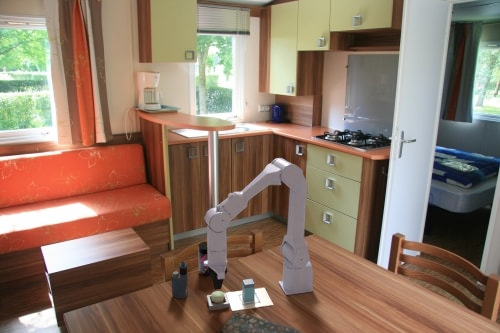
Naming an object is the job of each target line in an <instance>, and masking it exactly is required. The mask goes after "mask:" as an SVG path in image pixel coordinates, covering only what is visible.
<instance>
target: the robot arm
mask: <svg viewBox="0 0 500 333" xmlns="http://www.w3.org/2000/svg"><path fill="white" fill-rule="evenodd" d="M282 183H283V184H285V185H286V186H287V188H289V198H288V200H289V201H288V212H287V213H288V214H287V215H288V216H287V217H288V218H287V228H286V230H287V232H286V234H285V235H284V236H283V240H282V243H281V244H280V247H279V248H280V254H281V255H282V256H283V260H282V261H283V262H282V263H283V264H282V280H279V281H278V285H279V286H280V287H281V289H282V290H283V293H285V294H284V295H287V296H290V295H296V294H304V293H311V292H314V289H313V284H314V283H313V281H314V269H313V265H312V263H311V261H310V257H311V256H310V253H309V251H308V250H309V249H308V248H309V245H308V243H307V241H306V238H305V226H306V211H307V210H306V209H307V202H308V201H307V198H308V182H307V179H306V177H305V175H304V170H303V169H302V168H301V167H300V166H298V165H297V164H294V163H291V162H290V161H287V160H286V159H284V158H282V157H278V158H277V157H276V158H275V159H273V160H272V161H271V163H270V162H269V163H268V164H267V165H266V166H265V168H264V169H263V170H262V171H261V172H260V173H259V174H258V175H257V176H256V177H255V178H254V179H253V180H252V181H250V183H249V184H248V185H246V186H245V187H244V188H243V189H242V190H240V191H233V192H230V193H228V195H227V198H225V199H224V200H223V201H222V202H220V204H217V205H215V207H211V208H210V209H208V210H207V211H206V214H205V216H204V217H203V219H204V221H205V223H206V224H207V226H206V231H207V233H206V236H207V237H206V241H207V252H208V260H207V261H204V266H207V268H208V271H209V274H210V275H211V276H210V277H211V280H212V286H213V289H214V290H215V291H219V290H222V288H223V283H224V279H226V275H227V273H228V268H227V266H228V259H227V256H228V255H227V252H228V251H227V249H228V248H227V229H228V228H229V226H230V222H231V221H232V220H233V219H234V218H235V217H236V216H238V215H239V214H240V213H241V212H242V211H243V210H245V209H246V208H248V203H249V200H251V199H252V198H254V197H255V196H256V195H258V193H260V192H262V191H263V190H265V189H266V188H267V187H269V186H281V185H282Z"/></svg>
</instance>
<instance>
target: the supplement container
mask: <svg viewBox="0 0 500 333" xmlns="http://www.w3.org/2000/svg"><path fill="white" fill-rule="evenodd" d="M197 251H198V252H197V253H198V272H199V274H200V275H202V276H204V277H211V275H210V274H209V271H208V268H207V266H204V261H207V260H208V252H207V240H206V241H202V242H200V243H198V245H197Z"/></svg>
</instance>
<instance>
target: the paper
mask: <svg viewBox="0 0 500 333" xmlns="http://www.w3.org/2000/svg"><path fill="white" fill-rule="evenodd" d="M225 293H226V295H227V298H228V301H229V307H230V309H231V311H232V312H236V311H242V310H243V311H244V310H249V309H257V308H263V307H270V306H274V302H273V301H272V299H271V298H270V296H269V294H268V292H267V290H266V287H258V288H255V301H250V302H244V300H243V297H242V290H238V291H229V292H225Z"/></svg>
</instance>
